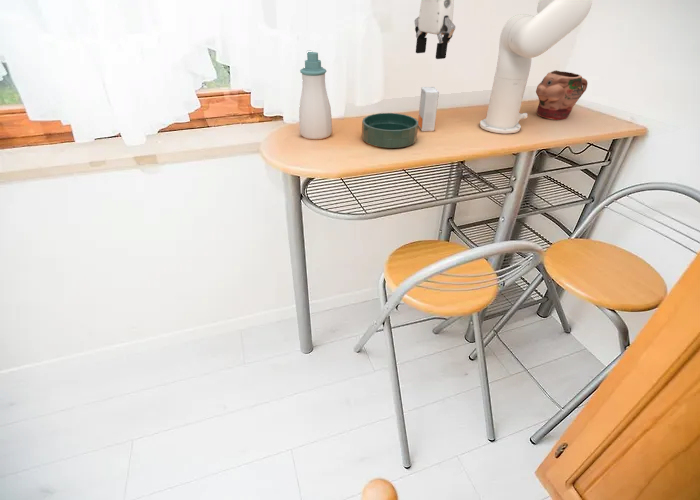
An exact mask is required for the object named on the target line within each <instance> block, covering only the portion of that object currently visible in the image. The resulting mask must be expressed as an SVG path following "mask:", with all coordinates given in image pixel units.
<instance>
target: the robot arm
mask: <svg viewBox="0 0 700 500" xmlns="http://www.w3.org/2000/svg"><path fill="white" fill-rule="evenodd" d="M537 3H538V4H537V7H536V13H537V14H536V15H531V14H526V13H521V14H516V15H514V16H512V17H511V18H509V19H508V20H507V21H506V22H505V24H504V25H503V27H502V29H501V32H500V36H499V42H498V56H497V62H496V69H495V72H494V78H493V81H492V87H491V91H490V97H489V100H488V101H489V102H488V106H487V107H488V108H487V111H486V112H487V113H486V117H485V118H484V119H481V120H480V121H479V127H480V128H481V129H483V130H484V131H487V132H490V133H495V134H502V135H503V134H507V135H509V134H515V133H518V132H520V131H521V128H522V126H521V124H520V123H519V122H520V121H521V120H526V119H527V118H528V117H529V114H528V113H527V112H522V113H521V112H520V111H521V107H522V104H523V99H524V94H525V91H526V87H527V83H528V80H529V79H528V78H529V75H530V71H531V65H532V59H533V58H536V57H539V56H541V55H542V54H544V53H545V52H546V51H548V50H550V49H551V48H552V47H553V46H555V45H556V44H557V43H558V42H560V41H561V40H563V39H564V38H565V37H566V36H567V35H569V34H570V33H571V32H573V30H575V29H576V28H577V27H579V26H580V25H581V24H582V23H583V21H584V20H585V19H586V18H587V16H588V14H589V13H590V10H591V9H592V4H593V0H539V1H538V2H537ZM454 4H455V0H421V1H420V7H419V14H418V16H417V17H416V18H415V19H414V21H413V22H414V31H415V37H416V42H415V43H416V45H415V53H416V54H425V53H426V51H427V50H426V49H427V40H428V37H427V35H428V34H431V35H436V36H437V40H438V42H437V44H436V51H435V60H442V59H443V60H444V59H446V57H447V52H448V51H447V50H448V44H449V43H450V42H451V39H452V38H453V36H454V35H453V34H454V32H455V30H456V25H455V24H454V23H453V19H454V7H455V5H454Z"/></svg>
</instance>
